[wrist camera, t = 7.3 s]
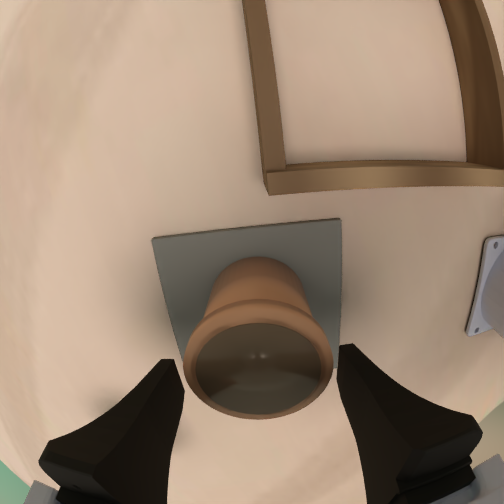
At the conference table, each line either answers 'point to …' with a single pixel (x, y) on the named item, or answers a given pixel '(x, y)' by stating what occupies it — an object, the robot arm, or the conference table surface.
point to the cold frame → (391, 171)
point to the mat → (243, 246)
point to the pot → (258, 344)
